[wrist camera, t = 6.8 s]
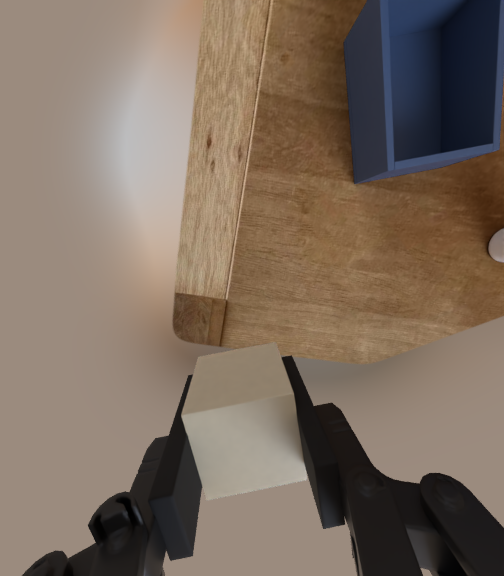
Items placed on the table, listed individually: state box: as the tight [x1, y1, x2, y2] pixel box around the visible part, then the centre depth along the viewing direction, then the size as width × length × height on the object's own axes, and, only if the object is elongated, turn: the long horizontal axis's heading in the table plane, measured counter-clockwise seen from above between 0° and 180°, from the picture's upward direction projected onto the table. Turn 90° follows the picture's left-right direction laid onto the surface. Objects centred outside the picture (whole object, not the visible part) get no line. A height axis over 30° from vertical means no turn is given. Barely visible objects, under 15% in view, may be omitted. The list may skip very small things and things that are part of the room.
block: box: [181, 342, 307, 500], centre depth 12 cm, size 4×4×4 cm
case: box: [344, 0, 504, 184], centre depth 28 cm, size 17×13×8 cm
